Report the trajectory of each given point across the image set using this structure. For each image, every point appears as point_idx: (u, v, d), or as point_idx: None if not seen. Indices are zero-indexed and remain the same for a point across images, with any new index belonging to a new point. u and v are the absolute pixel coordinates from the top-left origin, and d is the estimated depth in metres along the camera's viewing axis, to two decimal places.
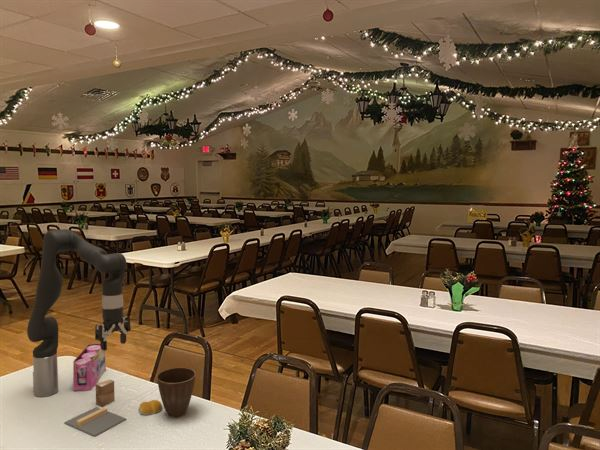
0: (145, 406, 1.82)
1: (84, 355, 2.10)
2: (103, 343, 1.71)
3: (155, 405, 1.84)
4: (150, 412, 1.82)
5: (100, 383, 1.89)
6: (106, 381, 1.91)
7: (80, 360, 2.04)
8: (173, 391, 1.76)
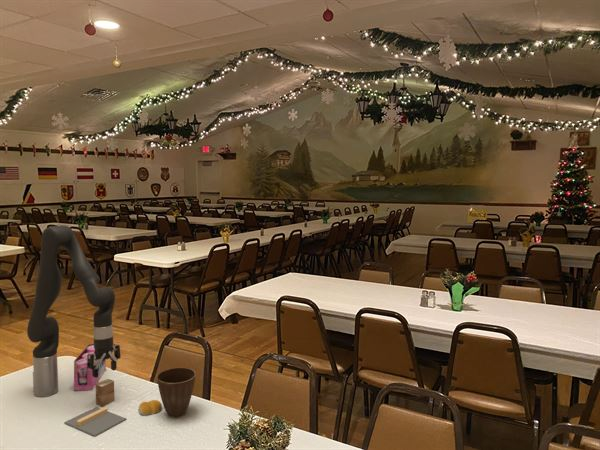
0: (145, 407, 1.82)
1: (84, 355, 2.10)
2: (95, 371, 1.85)
3: (155, 405, 1.84)
4: (150, 412, 1.82)
5: (100, 383, 1.89)
6: (106, 381, 1.91)
7: (81, 360, 2.04)
8: (173, 391, 1.76)
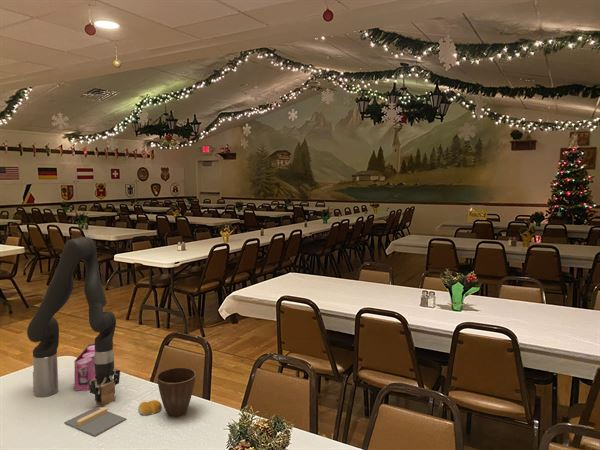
0: (145, 407, 1.82)
1: (85, 355, 2.10)
2: (97, 396, 1.87)
3: (155, 405, 1.84)
4: (150, 412, 1.82)
5: None
6: None
7: (81, 360, 2.05)
8: (173, 391, 1.76)
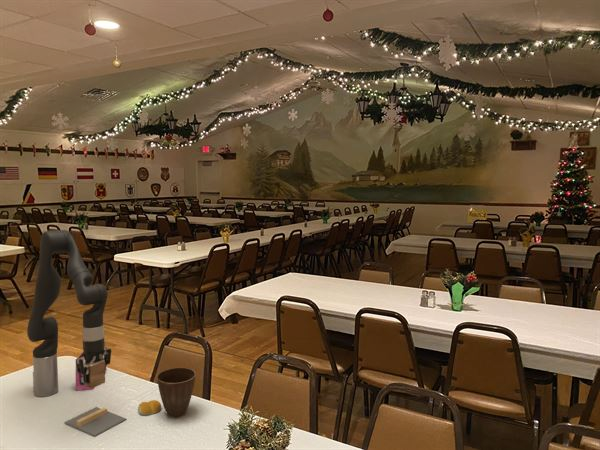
0: (144, 407, 1.82)
1: None
2: (86, 376, 1.71)
3: (155, 405, 1.84)
4: (149, 412, 1.82)
5: None
6: None
7: None
8: (173, 391, 1.76)
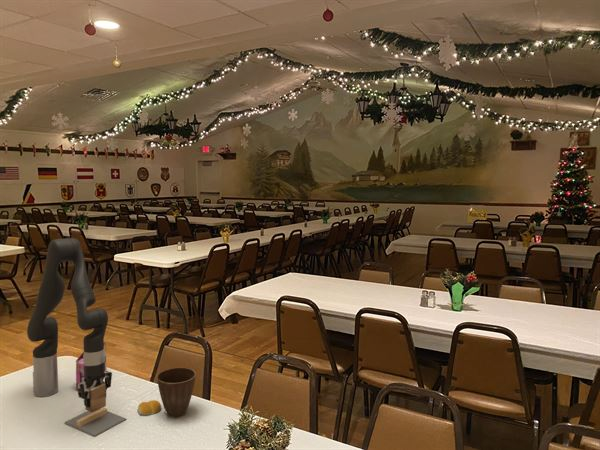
0: (144, 407, 1.82)
1: None
2: (87, 400, 1.71)
3: (154, 405, 1.84)
4: (149, 412, 1.82)
5: None
6: None
7: (82, 359, 2.05)
8: (173, 391, 1.76)
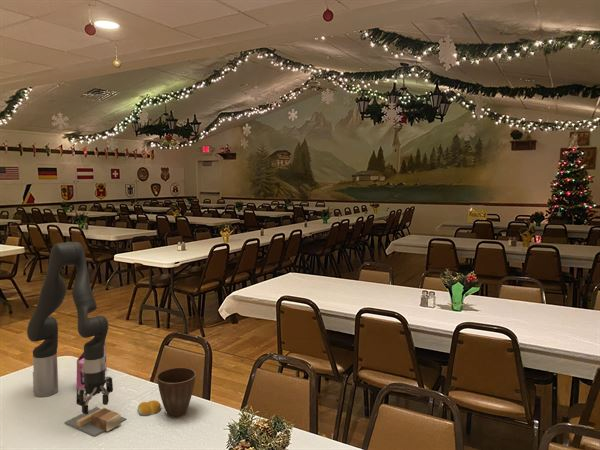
0: (144, 407, 1.82)
1: None
2: (84, 407, 1.71)
3: (154, 405, 1.84)
4: (149, 412, 1.81)
5: (110, 423, 1.69)
6: (115, 421, 1.71)
7: (83, 359, 2.05)
8: (173, 391, 1.76)
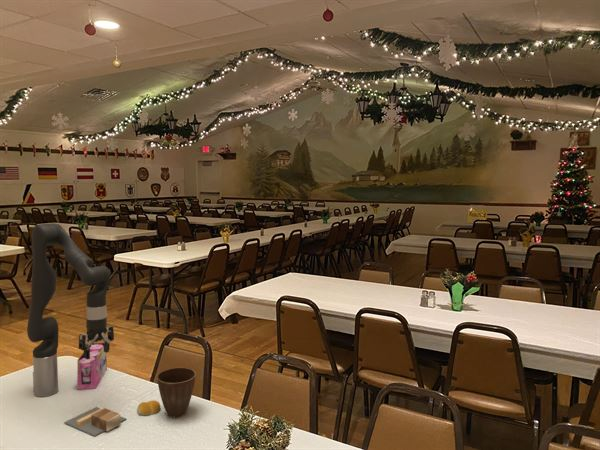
0: (144, 407, 1.82)
1: None
2: (86, 352, 1.78)
3: (154, 406, 1.83)
4: (149, 413, 1.81)
5: (110, 423, 1.69)
6: (115, 421, 1.71)
7: (84, 359, 2.05)
8: (173, 391, 1.76)
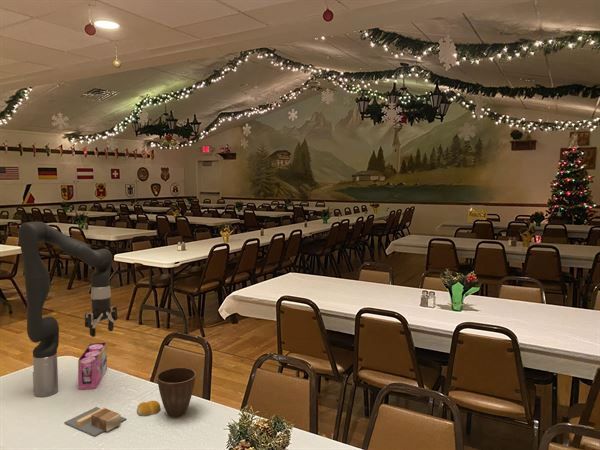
0: (143, 407, 1.82)
1: (87, 354, 2.11)
2: (92, 330, 1.89)
3: (154, 406, 1.83)
4: (148, 413, 1.81)
5: (110, 423, 1.69)
6: (115, 421, 1.71)
7: (84, 359, 2.06)
8: (173, 391, 1.76)
